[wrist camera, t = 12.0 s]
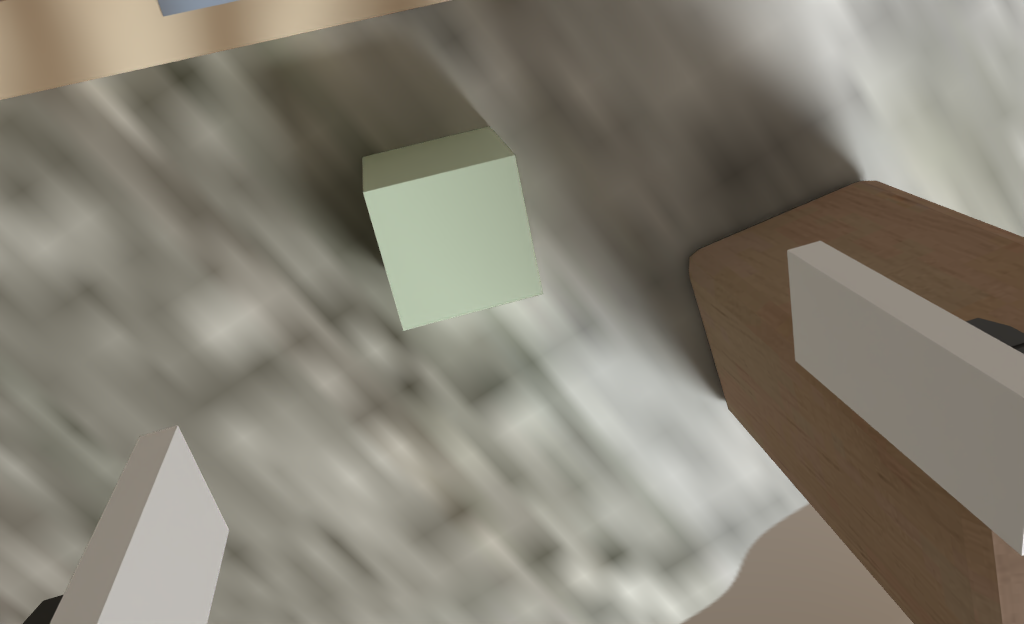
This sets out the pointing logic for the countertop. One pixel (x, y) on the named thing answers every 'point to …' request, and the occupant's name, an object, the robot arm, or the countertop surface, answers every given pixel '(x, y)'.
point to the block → (835, 426)
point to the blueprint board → (151, 33)
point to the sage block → (451, 226)
